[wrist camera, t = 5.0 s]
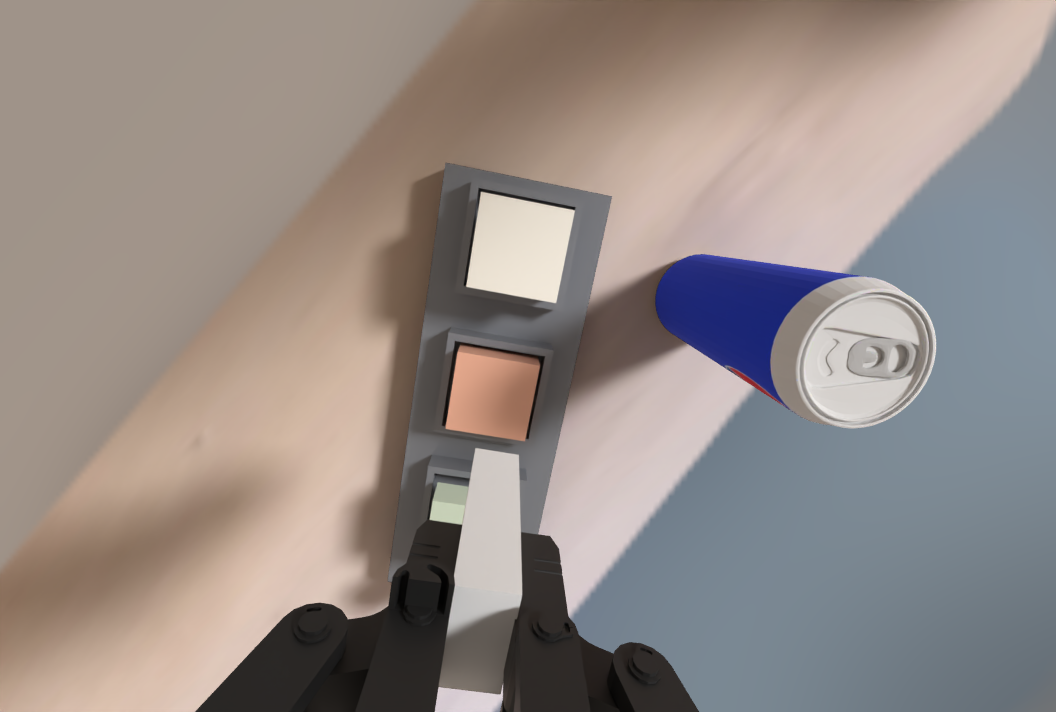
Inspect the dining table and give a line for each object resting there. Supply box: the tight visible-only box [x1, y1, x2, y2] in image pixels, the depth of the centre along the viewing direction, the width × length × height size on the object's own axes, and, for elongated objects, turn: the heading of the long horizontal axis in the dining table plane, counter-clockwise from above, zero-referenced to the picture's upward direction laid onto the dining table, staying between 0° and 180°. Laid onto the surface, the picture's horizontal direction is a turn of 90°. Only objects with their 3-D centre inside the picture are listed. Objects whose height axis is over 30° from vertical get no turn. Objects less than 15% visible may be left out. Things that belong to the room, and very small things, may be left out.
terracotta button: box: [446, 343, 540, 441], centre depth 28 cm, size 4×4×2 cm
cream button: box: [466, 192, 575, 303], centre depth 24 cm, size 4×4×2 cm
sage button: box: [430, 482, 469, 525], centre depth 28 cm, size 4×4×2 cm
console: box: [388, 163, 612, 582], centre depth 28 cm, size 26×9×7 cm, turn 170°
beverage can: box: [655, 254, 936, 428], centre depth 23 cm, size 5×5×15 cm
